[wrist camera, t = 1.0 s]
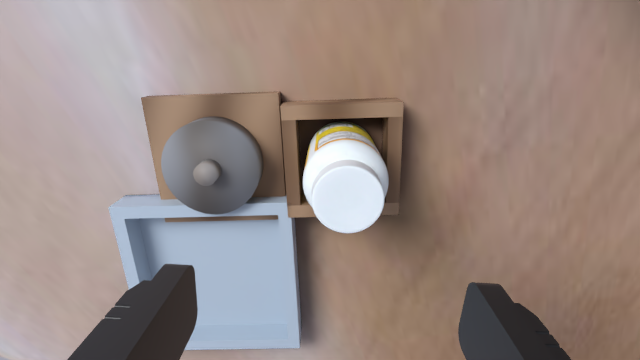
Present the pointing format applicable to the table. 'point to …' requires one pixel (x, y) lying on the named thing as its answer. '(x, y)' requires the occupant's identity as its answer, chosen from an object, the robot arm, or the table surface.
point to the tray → (220, 267)
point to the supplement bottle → (345, 177)
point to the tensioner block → (250, 148)
